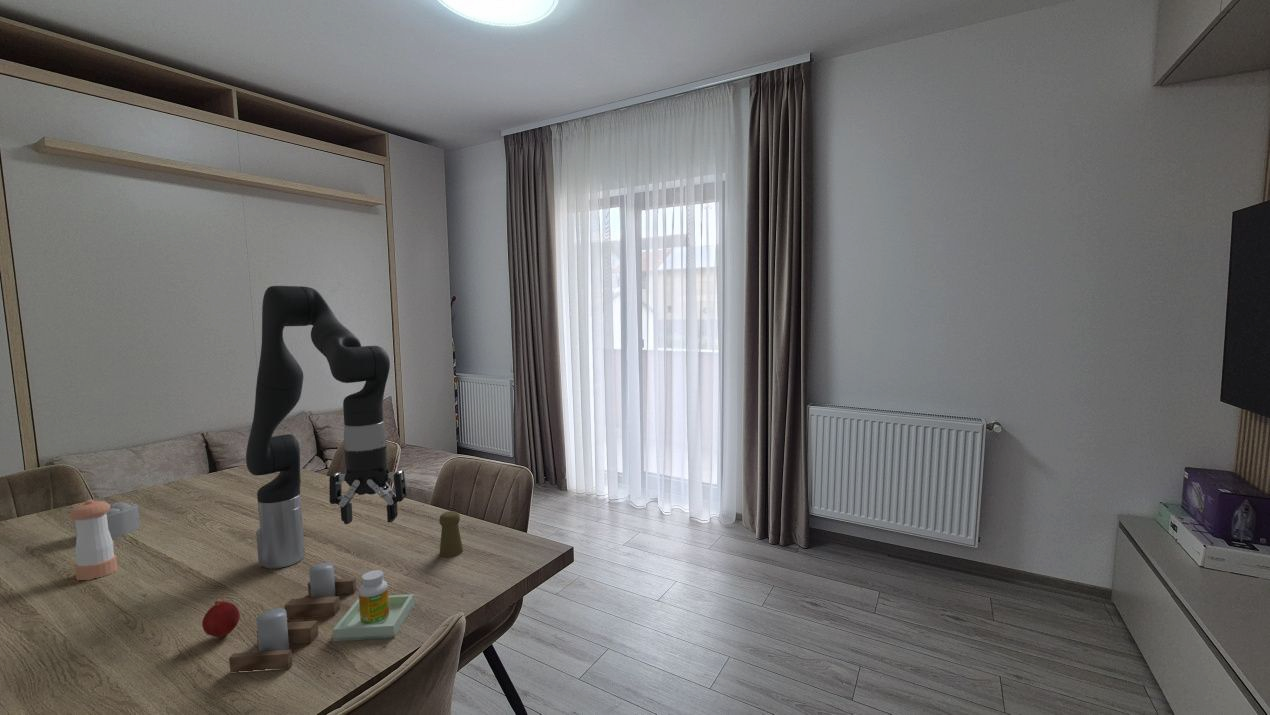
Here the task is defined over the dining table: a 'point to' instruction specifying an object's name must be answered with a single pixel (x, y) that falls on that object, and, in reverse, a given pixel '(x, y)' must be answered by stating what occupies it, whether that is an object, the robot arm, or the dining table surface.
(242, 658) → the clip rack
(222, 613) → the onion
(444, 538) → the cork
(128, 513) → the grey egg carton
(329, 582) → the cylinder
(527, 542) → the dining table surface
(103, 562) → the salt shaker
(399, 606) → the tray
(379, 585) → the supplement bottle
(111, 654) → the dining table surface
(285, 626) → the front canister
